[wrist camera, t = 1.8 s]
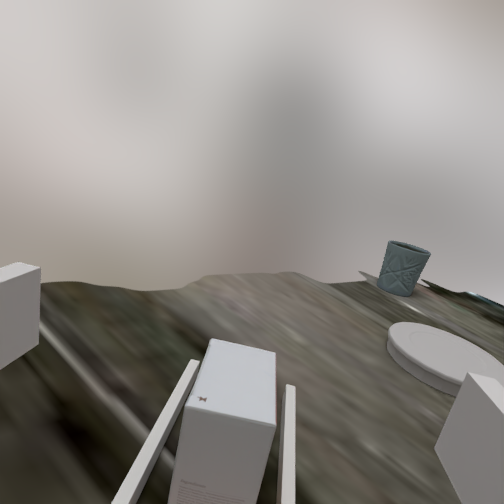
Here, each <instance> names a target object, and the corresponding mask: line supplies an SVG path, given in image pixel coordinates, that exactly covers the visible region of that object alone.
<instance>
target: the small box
mask: <svg viewBox="0 0 504 504" xmlns="http://www.w3.org/2000/svg"><path fill="white" fill-rule="evenodd" d="M276 427H277V407H276V353H274V352H270V351H266V350H262V349H257V348H253V347H249V346H244V345H240V344H235V343H231V342H227V341H222V340H218V339H210V342H209V345H208V349H207V352H206V355H205V357H204V360H203V363H202V365H201V368H200V371H199V373H198V376H197V379H196V381H195V384H194V386H193V389H192V391H191V393H190V395H189V397H188V400H187V402H186V404H185V407H184V413H183V420H182V425H181V431H180V437H179V442H178V448H177V453H176V458H175V464H174V470H173V475H172V481H171V487H170V493H169V499H168V504H256V501H257V498H258V494H259V490H260V486H261V483H262V479H263V475H264V471H265V467H266V464H267V460H268V456H269V452H270V448H271V445H272V441H273V437H274V434H275V430H276Z"/></svg>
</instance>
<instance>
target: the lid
mask: <svg viewBox="0 0 504 504" xmlns="http://www.w3.org/2000/svg"><path fill="white" fill-rule="evenodd" d="M388 337H389V338H388V341H387V350H388V352H389V353H390V355H391V356H392V358H393V359H394V360H395V361H396V362H397V363H398V364H399V365H400V366H401V367H402V368H403V369H404V370H406V371H407V372H409V373H410V374H412V375H413V376H414V377H416V378H417V379H419V380H420V381H422V382H424V383H426V384H428V385H430V386H432V387H434V388H436V389H438V390H440V391H442V392H445V393H447V394H450V395H453V396H455V397H457V395H458V392H459V390H460V388H461V386H462V383H463V381H464V379H465V376H466V374H467V372H470V373H474V374H478V375H482V376H486V377H490V378H494V379H496V380H497V381H498V382H499V383H500V384H501V385H502V386H503V387H504V366H503V365H502V364H501V363H500V362H499V361H498V360H496V359H495V358H494V357H493V356H491V355H490V354H488V353H487V352H485V351H484V350H482V349H481V348H479V347H478V346H476V345H474V344H472V343H470V342H468V341H466V340H464V339H462V338H460V337H458V336H455V335H453V334H451V333H448V332H446V331H443V330H440V329H437V328H434V327H431V326H427V325H422V324H418V323H409V322H401V323H395V324H393V325H392V326H391V327H390V328H389V330H388Z"/></svg>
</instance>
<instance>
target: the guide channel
mask: <svg viewBox="0 0 504 504" xmlns="http://www.w3.org/2000/svg"><path fill="white" fill-rule="evenodd" d="M199 362H200V361H196V360H193V359H191V360H190V362H189V364H188V366H187V368H186V369H185V371H184V373H183V375H182V377H181V378H180V380H179V382H178V384H177V386H176V387H175V389H174V391H173V393H172V395H171V397H170V398H169V400H168V402H167V404H166V406H165V407H164V409H163V411H162V413H161V415H160V416H159V418H158V420H157V422H156V424H155V425H154V427H153V429H152V431H151V433H150V435H149V436H148V438H147V440H146V442H145V444H144V445H143V447H142V449H141V451H140V453H139V454H138V456H137V458H136V460H135V462H134V464H133V465H132V467H131V469H130V471H129V473H128V474H127V476H126V478H125V480H124V482H123V483H122V485H121V487H120V489H119V491H118V493H117V494H116V496H115V498H114V500H113V502H112V503H111V504H136V502H137V500H138V498H139V496H140V494H141V492H142V490H143V488H144V486H145V484H146V482H147V479H148V477H149V475H150V473H151V471H152V469H153V467H154V465H155V463H156V461H157V459H158V456H159V454H160V452H161V450H162V448H163V446H164V444H165V442H166V440H167V438H168V436H169V433H170V431H171V429H172V427H173V425H174V423H175V421H176V419H177V417H178V415H179V413H180V410H181V408H182V406H183V404H184V402H185V400H186V398H187V396H188V394H189V392H190V390H191V387H192V385H193V383H194V381H195V379H196V377H197V373H198V367H199ZM276 504H295V386H291V385H288V384H286V387H285V391H284V395H283V398H282V413H281V430H280V447H279V464H278V481H277V498H276Z"/></svg>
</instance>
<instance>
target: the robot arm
mask: <svg viewBox="0 0 504 504" xmlns="http://www.w3.org/2000/svg"><path fill="white" fill-rule="evenodd" d="M40 278H41V267H37V266H33V265H29V264H25V263H21V262H17V263H14V264H11V265H8V266H5V267H1V268H0V370H1V369H2V368H3V367H5V366H6V365H8V364H9V363H11V362H12V361H14V360H15V359H17V358H18V357H20V356H21V355H23V354H24V353H26V352H27V351H29V350H30V349H32V348H33V347H35V346H36V345H38V344H39V314H40V280H41V279H40ZM434 449H435V451H436V453H437V455H438V457H439V459H440V461H441V463H442V465H443V467H444V469H445V471H446V473H447V475H448V477H449V479H450V481H451V483H452V485H453V487H454V489H455V491H456V493H457V495H458V497H459V499H460V501H461V503H462V504H504V387H503V386H502V385H501V384H500V383H499V382H498V381H497V380H496V379H494V378H490V377H486V376H482V375H478V374H474V373H470V372H467V374H466V376H465V379H464V381H463V383H462V386H461V388H460V390H459V392H458V395H457V397H456V399H455V402H454V404H453V406H452V408H451V411H450V413H449V415H448V418H447V420H446V422H445V425H444V427H443V429H442V431H441V434H440V436H439V438H438V441H437V443H436V445H435V447H434Z"/></svg>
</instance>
